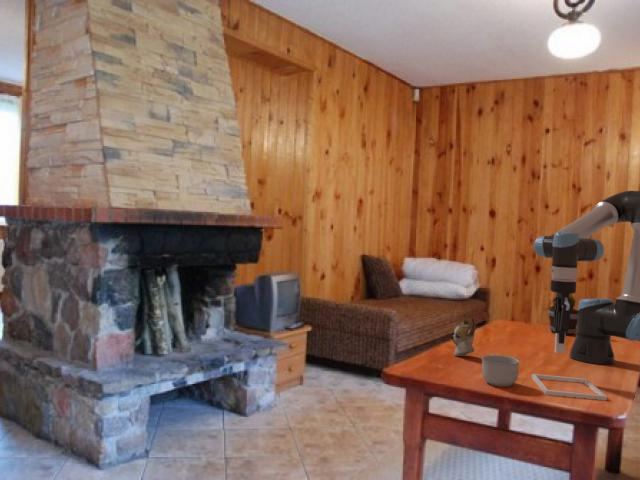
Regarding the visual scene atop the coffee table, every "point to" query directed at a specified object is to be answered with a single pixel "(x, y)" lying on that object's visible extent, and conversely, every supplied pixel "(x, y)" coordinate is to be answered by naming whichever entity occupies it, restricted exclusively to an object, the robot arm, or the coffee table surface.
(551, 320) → the flowerpot
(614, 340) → the coffee table surface
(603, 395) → the grey square frame
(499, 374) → the teacup
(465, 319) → the ceramic sculpture
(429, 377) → the coffee table surface
